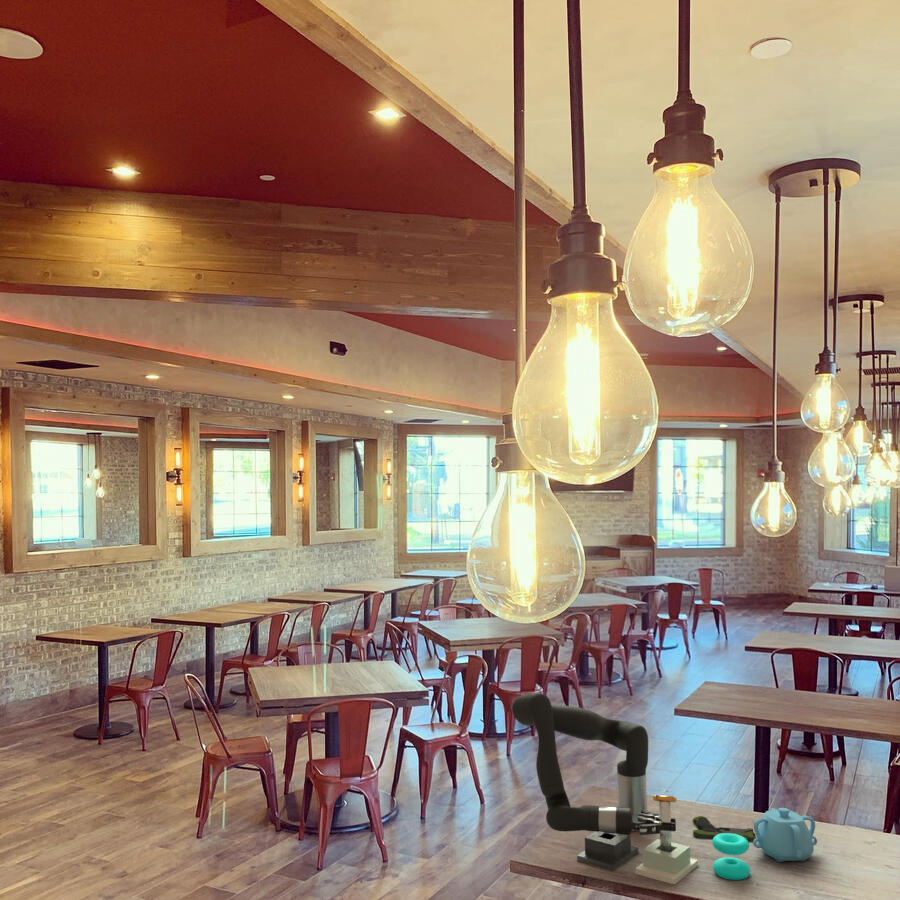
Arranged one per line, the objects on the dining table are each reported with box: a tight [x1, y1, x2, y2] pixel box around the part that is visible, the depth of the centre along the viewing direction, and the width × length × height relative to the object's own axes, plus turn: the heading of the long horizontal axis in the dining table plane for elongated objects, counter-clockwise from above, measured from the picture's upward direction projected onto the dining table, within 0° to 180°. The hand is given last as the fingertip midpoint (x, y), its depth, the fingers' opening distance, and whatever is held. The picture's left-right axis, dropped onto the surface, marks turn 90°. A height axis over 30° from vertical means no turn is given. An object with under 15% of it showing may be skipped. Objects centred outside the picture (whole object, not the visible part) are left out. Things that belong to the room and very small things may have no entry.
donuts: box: [711, 833, 751, 881], centre depth 248 cm, size 10×10×10 cm
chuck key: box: [652, 794, 677, 853], centre depth 252 cm, size 7×3×18 cm, turn 76°
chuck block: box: [576, 831, 640, 872], centre depth 262 cm, size 16×12×6 cm
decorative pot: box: [752, 807, 818, 863], centre depth 261 cm, size 16×16×14 cm
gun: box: [692, 815, 757, 842], centre depth 279 cm, size 2×19×15 cm
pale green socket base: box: [634, 838, 699, 885], centre depth 252 cm, size 16×12×6 cm
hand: (675, 824), depth 252 cm, fingers closed on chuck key, 3 cm apart
